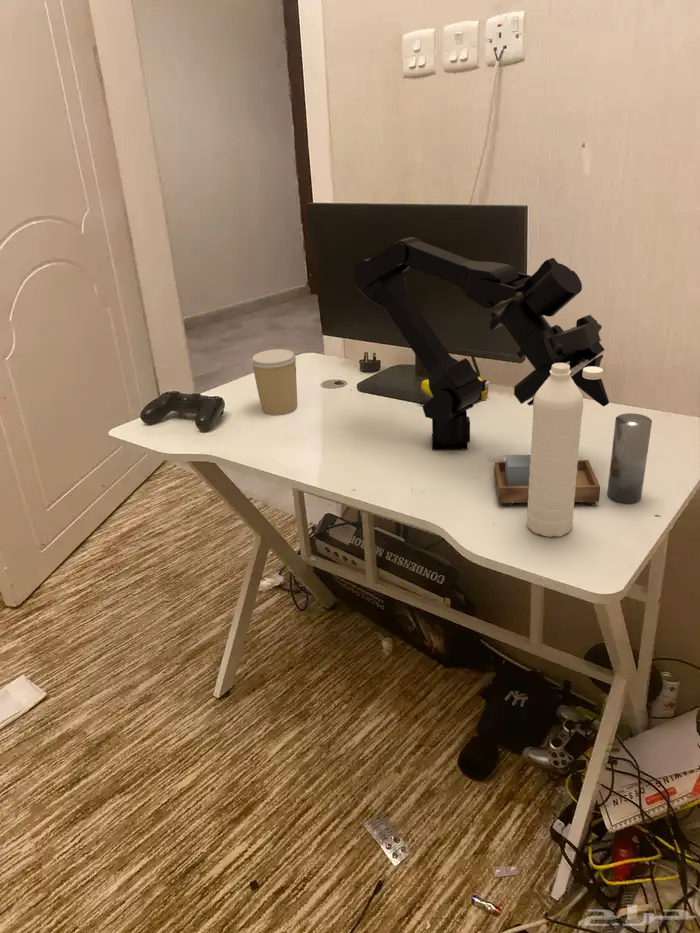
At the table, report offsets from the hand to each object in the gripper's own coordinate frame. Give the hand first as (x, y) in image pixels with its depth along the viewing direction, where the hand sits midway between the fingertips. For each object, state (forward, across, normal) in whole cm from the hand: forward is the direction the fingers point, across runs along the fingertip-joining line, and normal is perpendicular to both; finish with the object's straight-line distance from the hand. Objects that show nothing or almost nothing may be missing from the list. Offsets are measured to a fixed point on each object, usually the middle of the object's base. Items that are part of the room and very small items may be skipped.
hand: (592, 414), depth 107 cm
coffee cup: (-39, -7, +56) cm, 69 cm away
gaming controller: (-18, +18, +36) cm, 45 cm away
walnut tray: (+6, -6, +12) cm, 14 cm away
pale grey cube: (+2, -9, +13) cm, 15 cm away
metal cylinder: (+13, 0, +4) cm, 14 cm away
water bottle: (+11, -14, +7) cm, 19 cm away
